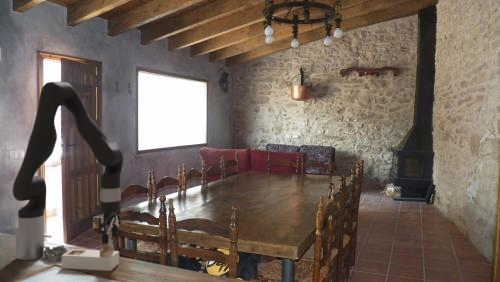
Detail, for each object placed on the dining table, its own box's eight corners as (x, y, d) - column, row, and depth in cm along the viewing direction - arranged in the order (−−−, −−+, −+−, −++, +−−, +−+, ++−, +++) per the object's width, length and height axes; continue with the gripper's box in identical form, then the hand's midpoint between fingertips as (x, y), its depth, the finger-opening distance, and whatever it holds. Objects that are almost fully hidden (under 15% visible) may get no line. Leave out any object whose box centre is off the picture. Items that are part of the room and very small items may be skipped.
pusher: (99, 256, 146) (99, 234, 145) (106, 251, 152) (106, 230, 151) (107, 256, 146) (107, 235, 145) (114, 251, 152) (114, 230, 151)
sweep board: (61, 268, 146) (61, 255, 146) (72, 261, 154) (72, 248, 154) (110, 270, 145) (110, 257, 145) (119, 263, 152) (119, 251, 152)
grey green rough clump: (42, 255, 159) (42, 245, 159) (62, 251, 164) (62, 242, 164) (48, 262, 151) (48, 252, 151) (68, 259, 156) (68, 249, 156)
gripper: (109, 195, 155) (109, 234, 156) (92, 202, 141) (91, 245, 141) (127, 195, 154) (126, 235, 155) (111, 203, 140) (111, 246, 141)
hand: (110, 240), depth 148 cm, fingers open, 8 cm apart
